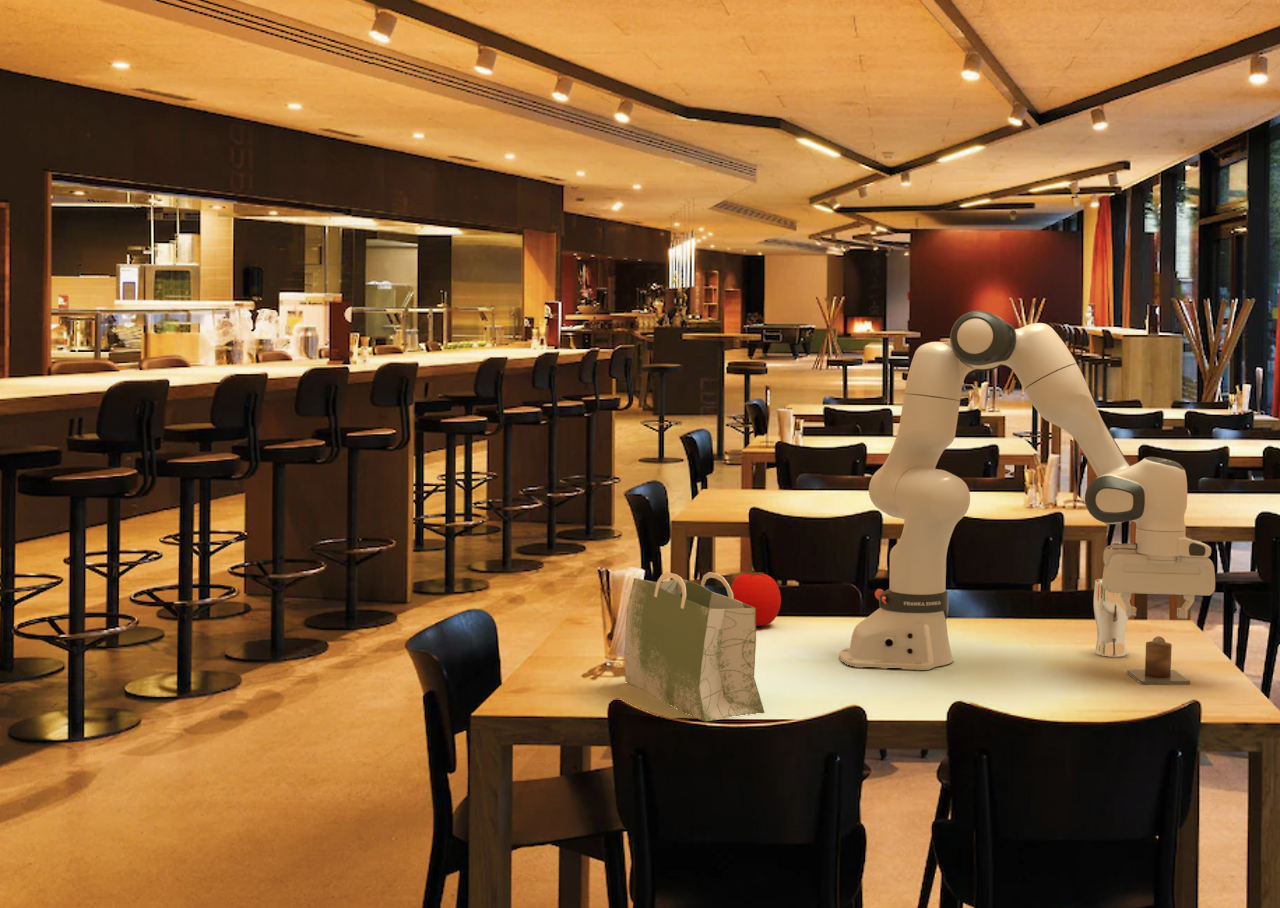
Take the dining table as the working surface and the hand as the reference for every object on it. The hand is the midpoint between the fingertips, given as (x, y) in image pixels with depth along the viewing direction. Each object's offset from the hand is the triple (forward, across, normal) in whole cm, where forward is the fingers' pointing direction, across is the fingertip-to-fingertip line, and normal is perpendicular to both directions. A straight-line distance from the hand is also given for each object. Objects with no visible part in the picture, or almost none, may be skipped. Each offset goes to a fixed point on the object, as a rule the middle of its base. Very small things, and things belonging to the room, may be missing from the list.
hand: (1156, 617), depth 284 cm
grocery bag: (+15, -87, -14) cm, 89 cm away
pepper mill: (+11, +1, +1) cm, 11 cm away
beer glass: (+12, -2, +22) cm, 25 cm away
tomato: (+14, -74, +49) cm, 90 cm away
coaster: (+12, +1, +1) cm, 12 cm away
